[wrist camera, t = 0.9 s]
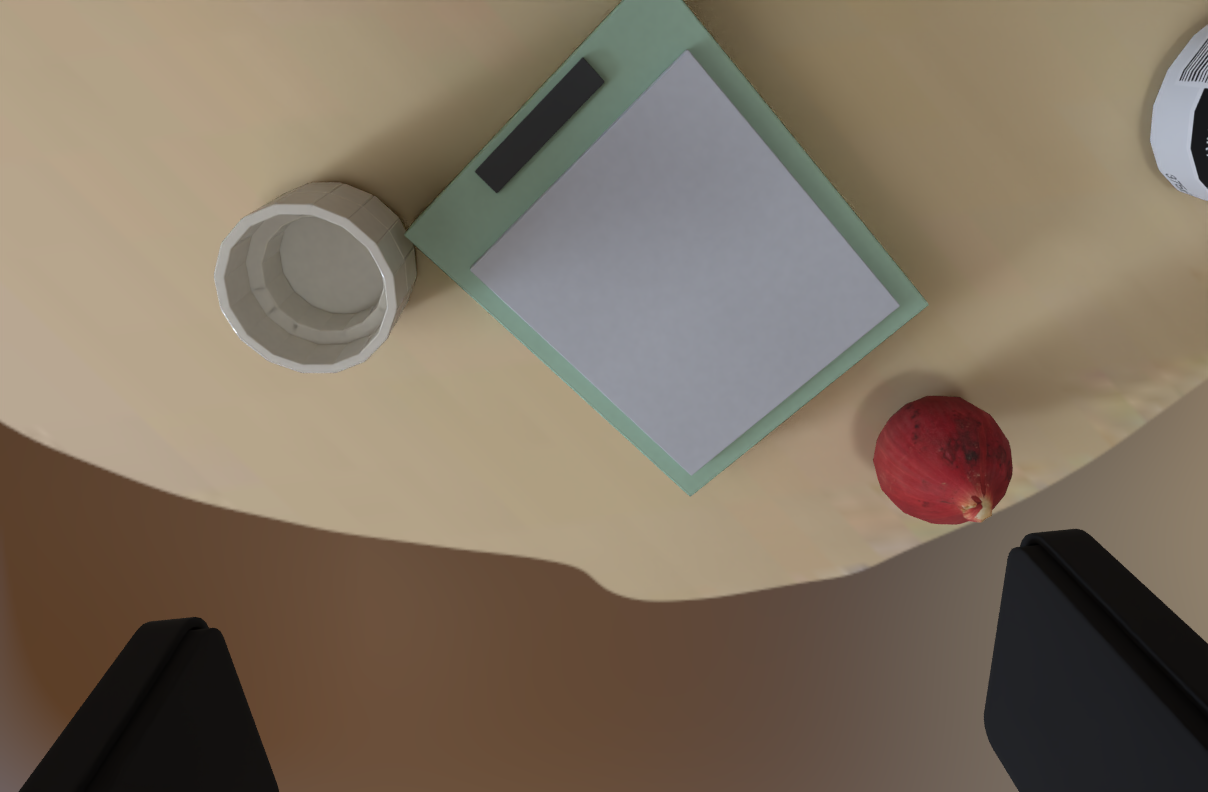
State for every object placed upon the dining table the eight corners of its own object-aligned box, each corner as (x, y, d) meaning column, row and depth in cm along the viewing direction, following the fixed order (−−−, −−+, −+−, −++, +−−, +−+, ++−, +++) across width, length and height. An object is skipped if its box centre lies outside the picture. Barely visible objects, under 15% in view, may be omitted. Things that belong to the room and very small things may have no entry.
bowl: (229, 258, 34) (179, 292, 30) (325, 145, 33) (286, 164, 28) (353, 358, 37) (323, 404, 32) (449, 258, 35) (432, 292, 30)
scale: (413, 222, 34) (400, 238, 31) (649, -29, 30) (658, -35, 28) (683, 472, 40) (692, 504, 37) (908, 288, 36) (935, 309, 34)
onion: (864, 368, 38) (933, 449, 31) (978, 371, 38) (1073, 451, 31) (843, 471, 41) (903, 567, 33) (950, 473, 41) (1033, 569, 34)
